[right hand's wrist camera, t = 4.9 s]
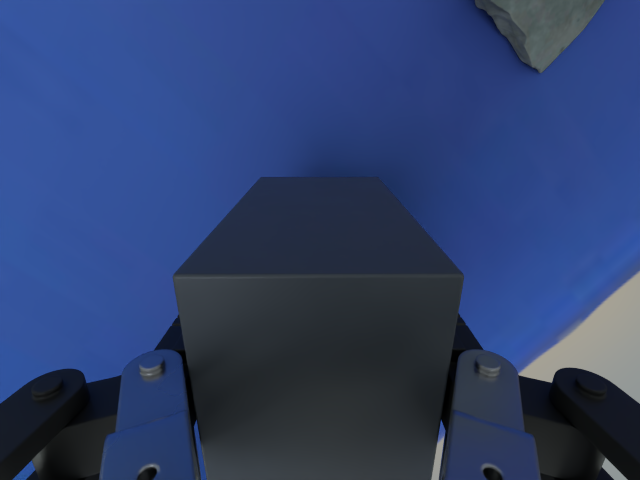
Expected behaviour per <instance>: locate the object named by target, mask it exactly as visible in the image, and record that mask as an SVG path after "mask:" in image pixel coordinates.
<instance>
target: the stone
mask: <svg viewBox="0 0 640 480" xmlns="http://www.w3.org/2000/svg"><path fill="white" fill-rule="evenodd" d="M604 1H605V0H475V4H476V6H477V7H478V8H480V9H484V10H486V11H487V13H488V15H490V16H491V17H492V18H493V19H494V22H495V24H496V26H497V28H498V29H499V30H500V32H501V34H502V35H504V36H505V37H506V38H508V40H509V42H510V43H511V44H512V46H513V48H514V50H515V51H516V53H517V55H518V57H519V58H520V59H521V60H522V61H523V62H524V63H526V64H528V65H529V66H531V67H532V68H535V69H537V70H538V72H539V73H542V72H543V71H544V70H545V69H546V68H547V67H548V66H549V65H550V64H551V63H552V62H553V61H554V60H555V59H556V58H557V56H558V55H559V54H560V53H561V52H563V51H564V50H565V49H566V48H567V47H568V46H569V45H570V43H571V42H572V41H573V40H574V39H575V38H576V37H577V36H578V35H579V34H580V33H581V32H582V31H583V30H584V28H585V27H586V26H587V24H588V23H589V22H590V20H591V19H592V17H593V16H594V15H595V13H596V12H597V11H598V9H599V8H600V6H601V5H602V3H603V2H604Z"/></svg>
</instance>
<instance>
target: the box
mask: <svg viewBox="0 0 640 480" xmlns="http://www.w3.org/2000/svg"><path fill="white" fill-rule="evenodd" d="M463 280H464V275H463V273H462V272H461V271H460V270H459V269H458V268H457V266H456V265H455V264H454V263H453V262H452V261H451V260H450V259H449V257H448V256H447V255H446V254H445V253H444V252H443V251H442V249H441V248H440V247H439V246H438V245H437V244H436V243H435V241H434V240H433V239H432V238H431V237H430V236H429V235H428V234H427V232H426V231H425V230H424V229H423V228H422V227H421V226H420V224H419V223H418V222H417V221H416V220H415V219H414V218H413V216H412V215H411V214H410V213H409V212H408V211H407V210H406V209H405V207H404V206H403V205H402V204H401V203H400V202H399V201H398V199H397V198H396V197H395V196H394V195H393V194H392V193H391V191H390V190H389V189H388V188H387V187H386V186H385V185H384V184H383V182H382V181H381V180H380V179H379V178H378V177H261V178H260V179H259V180H258V181H257V182H256V183H255V184H254V185H253V186H252V188H251V189H250V190H249V191H248V192H247V193H246V194H245V195H244V197H243V198H242V199H241V200H240V201H239V202H238V203H237V204H236V205H235V207H234V208H233V209H232V210H231V211H230V212H229V213H228V214H227V215H226V217H225V218H224V219H223V220H222V221H221V222H220V223H219V224H218V225H217V227H216V228H215V229H214V230H213V231H212V232H211V233H210V234H209V236H208V237H207V238H206V239H205V240H204V241H203V242H202V243H201V244H200V246H199V247H198V248H197V249H196V250H195V251H194V252H193V253H192V254H191V256H190V257H189V258H188V259H187V260H186V261H185V262H184V263H183V265H182V266H181V267H180V268H179V269H178V270H177V271H176V272H175V273H174V275H173V282H174V288H175V294H176V299H177V305H178V311H179V317H180V323H181V329H182V335H183V341H184V347H185V353H186V359H187V365H188V371H189V376H190V382H191V388H192V394H193V400H194V406H195V412H196V418H197V424H198V430H199V436H200V442H201V448H202V454H203V459H204V465H205V471H206V477H207V480H431V477H432V471H433V465H434V459H435V453H436V447H437V441H438V434H439V428H440V422H441V416H442V410H443V404H444V397H445V391H446V385H447V379H448V373H449V366H450V360H451V354H452V348H453V342H454V336H455V329H456V323H457V317H458V311H459V305H460V299H461V292H462V286H463Z"/></svg>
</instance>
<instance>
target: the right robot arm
mask: <svg viewBox="0 0 640 480" xmlns="http://www.w3.org/2000/svg"><path fill="white" fill-rule="evenodd" d="M196 420H197V418H196V412H195V406H194V400H193V394H192V388H191V382H190V376H189V371H188V365H187V359H186V353H185V347H184V341H183V335H182V329H181V323H180V317H179V315H178V318H176V319H175V321H174V322H173V324H172V326H170V328H169V329H168V331H167V332H166V334H165V335H164V337H163V338H162V339H161V341H160V342H159V344H158V345H157V347H156V348H155V350H154V351H151V352H147V353H145V354H142V355H140V356H138V357H137V358H135V359H134V360H132V361H131V362H130V363H129V364H128V365H127V366H126V367H125V368H124V370H123V372H122V375H120V376H117V377H113V378H109V379H104V380H100V381H95V382H91V383H86V380H85V377H84V374H83V373H82V372H81V371H79V370H76V369H61V370H56V371H53V372H50V373H47V374H44V375H42V376H39V377H37V378H35V379H34V380H32V381H30V382H29V383H27V384H26V385H24V386H23V387H22V388H20V389H19V390H18V391H16V392H15V393H14V394H13V395H11V396H10V397H9V398H7V399H6V400H5V401H3V402H2V403H1V404H0V480H12V479H13V478H14V477H15V476H16V475H17V474H18V473H19V472H20V471H21V470H22V469H23V468H24V467H25V466H26V465H27V464H28V463H29V462H30V461H31V460H32V462H33V465H34V467H35V471H34V472H33V473H32V474H31V475H30V476H29V477H28V478H27V479H26V480H201V474H200V467H199V459H198V452H197V444H196V437H195V431H194V425H195V422H196ZM441 420H442V423H443V425H444V428H445V430H446V431H445V437H444V445H443V452H442V459H441V467H440V474H439V480H614V479H613V478H612V477H611V476H610V475H609V474H608V473H607V472H606V471H605V470H604V469H603V468H602V465H603V462H604V460H605V457H606V458H607V459H608V460H609V461H610V462H611V463H612V464H613V465H614V466H615V467H616V468H617V469H618V470H619V471H620V472H621V473H622V474H623V475H624V476H625V477H626V478H627V479H628V480H640V404H639V403H638V402H637V401H635V400H634V399H633V398H631V397H630V396H629V395H627V394H626V393H625V392H624V391H622V390H621V389H620V388H618V387H617V386H616V385H614V384H613V383H612V382H610V381H609V380H607V379H605V378H603V377H601V376H599V375H597V374H595V373H592V372H589V371H586V370H582V369H578V368H562V369H560V370H558V371H557V372H556V373H555V375H554V378H553V381H552V383H550V382H545V381H541V380H536V379H531V378H527V377H523V376H519V375H518V372H517V370H516V368H515V367H514V366H513V365H512V364H511V363H510V362H509V361H508V360H506V359H505V358H503V357H502V356H500V355H498V354H495V353H493V352H489V351H485V350H483V348H482V347H481V345H480V344H479V342H478V341H477V340H476V338H475V337H474V335H473V334H472V332H471V331H470V329H469V328H468V326H466V323H465V322H464V321H463V319H462V318H460V315H459V313H458V317H457V323H456V329H455V336H454V342H453V348H452V354H451V360H450V366H449V373H448V379H447V385H446V391H445V397H444V404H443V410H442V416H441Z"/></svg>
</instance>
